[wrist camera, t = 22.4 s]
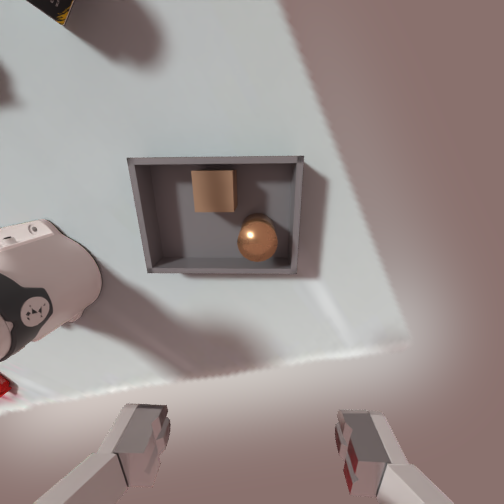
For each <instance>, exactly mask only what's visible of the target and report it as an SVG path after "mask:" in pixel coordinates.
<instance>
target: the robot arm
mask: <svg viewBox="0 0 504 504" xmlns="http://www.w3.org/2000/svg"><path fill="white" fill-rule="evenodd" d="M36 228H37V229H36ZM101 286H102V280H101V274H100V271H99V268H98V266H97V264H96V262H95V261H94V259H93V258H92V256H91V255H90V254H89V253H88V252H87V251H86V250H85V249H84V248H83V247H82V246H80V245H79V244H78V243H76V242H75V241H73V240H71V239H70V238H68V237H66V236H64V235H63V234H61V233H60V232H59V231H58V229H57V228H56V227H55V226H54V225H53V224H51V223H50V222H49V221H47V220H45V219H40V220H35V221H30V222H26V223H21V224H17V225H12V226H7V227H3V228H0V362H1V361H4V360H6V359H7V358H9V357H10V356H11V355H14V354H16V353H17V352H19V351H20V350H21V349H23V348H24V347H25V345H27V344H28V343H29V342H31V341H33V342H35V341H38V340H40V339H42V338H43V337H45V336H46V335H48V334H49V333H51V332H52V331H54V330H55V329H57V328H58V327H60V326H61V325H63V324H64V323H66V322H67V321H68V322H74V321H76V320H77V319H79V318H80V317H81V315H82V313H83V311H84V309H85V308H86V307H87V306H89V305H90V304H92V303H93V302H94V301H95V300H96V299H97V297H98V296H99V294H100V291H101ZM167 413H168V409H167V405H150V404H126V405H125V406H124V407H123V408H122V409H121V411H120V413H119V415H118V416H117V418H116V420H115V422H114V423H113V425H112V427H111V428H110V430H109V432H108V434H107V436H106V438H105V439H104V441H103V443H102V444H101V446H100V448H99V449H98V451H97V453H91V454H90V455H89V456H88V457H87V458H86V459H85V460H83V461H82V462H81V463H80V464H79V465H77V466H76V467H75V468H74V469H73V470H72V471H70V472H69V473H68V474H67V475H66V476H65V477H63V478H62V479H61V480H60V481H59V482H58V483H57V484H55V485H54V486H53V487H52V488H51V489H49V490H48V491H47V492H46V493H45V494H44V495H42V496H41V497H40V498H39V499H38V500H37V501H35V502H34V503H33V504H116V503H117V502H118V500H119V499H120V498H121V497H122V496H123V494H124V493H125V492H126V491H127V490H128V487H153V485H154V482H155V479H156V476H157V473H158V470H159V467H160V464H161V463H160V459H159V455H160V454H161V453H162V452H163V451H164V450H165V449H166V446H167V443H168V440H169V435H170V420H169V418H168V417H166V416H167ZM337 417H338V421H339V422H338V423H337V424H336V427H335V440H336V445H337V449H338V453H339V456H340V457H341V458H342V459H343V461H344V462H345V464H344V469H343V472H344V475H345V479H346V483H347V486H348V490H349V494H350V495H351V496H365V497H377V498H376V499H377V501H378V502H379V504H454V503H453V502H452V501H451V500H450V499H449V498H448V497H447V496H446V495H445V494H444V493H443V492H442V491H441V490H440V489H439V488H438V487H437V486H436V485H435V484H434V483H433V482H432V481H430V480H429V479H428V478H427V477H426V476H425V475H424V474H423V473H422V472H421V471H420V470H419V469H418V468H417V467H416V466H415V465H413V464H409V463H408V461H407V459H406V457H405V455H404V453H403V451H402V449H401V447H400V445H399V443H398V441H397V439H396V437H395V435H394V433H393V431H392V429H391V427H390V425H389V423H388V421H387V419H386V417H385V415H384V414H383V413H382V412H381V411H366V410H339V411H338V414H337Z"/></svg>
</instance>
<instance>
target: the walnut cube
mask: <svg viewBox="0 0 504 504" xmlns="http://www.w3.org/2000/svg"><path fill="white" fill-rule="evenodd" d="M191 176H192V186H193V197H194V207H195V212H234V211H235V209H236V208H237V206H238V205H237V172H236V170H197V171H191Z"/></svg>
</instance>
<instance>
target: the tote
mask: <svg viewBox="0 0 504 504" xmlns="http://www.w3.org/2000/svg"><path fill="white" fill-rule="evenodd" d="M127 162H128V168H129V173H130V179H131V184H132V190H133V195H134V201H135V206H136V212H137V217H138V223H139V228H140V234H141V239H142V245H143V250H144V256H145V261H146V267H147V272H148V273H218V274H297V258H298V242H299V227H300V211H301V195H302V179H303V163H304V156H243V157H154V158H127ZM197 170H236V172H237V205H238V206H237V208H236V209H235V211H234V212H195V207H194V197H193V186H192V176H191V171H197ZM254 213H262V214H265V215H267V216H268V217H269V218H270V219H271V220H272V222H273V224H274V228H275V232H276V236H277V240H278V245H277V249H276V251H275V253H274V254H273V255H272V256H271V257H270V258H269V259H267V260H265V261H261V262H254V261H250V260H248V259H246V258H245V257H244V256H243V255H242V254H241V253H240V251H239V249H238V245H237V240H238V236H239V233H240V229H241V226H242V223H243V221H244V220H245V218H246V217H248V216H249V215H251V214H254Z"/></svg>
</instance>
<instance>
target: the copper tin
mask: <svg viewBox="0 0 504 504" xmlns="http://www.w3.org/2000/svg"><path fill="white" fill-rule="evenodd" d="M237 245H238V249H239V251H240V253H241V254H242V255H243V256H244V257H245V258H246V259H248V260H250V261H254V262H261V261H265V260H267V259H269V258H270V257H271V256H272V255H273V254H274V253H275V251H276V249H277V245H278V240H277V236H276V232H275V228H274V224H273V222H272V220H271V219H270V218H269V217H268V216H267V215H265V214H262V213H254V214H251V215H249V216H248V217H246V218H245V220H244V221H243V223H242V226H241V229H240V233H239V236H238V240H237Z"/></svg>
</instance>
